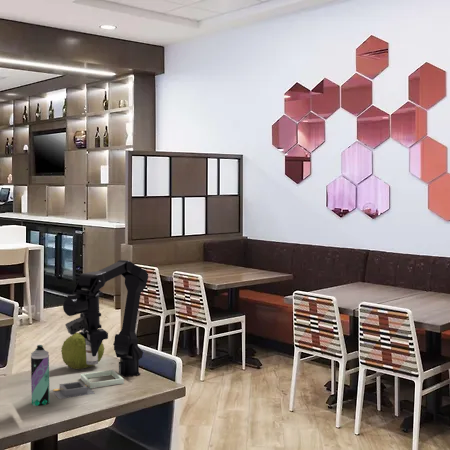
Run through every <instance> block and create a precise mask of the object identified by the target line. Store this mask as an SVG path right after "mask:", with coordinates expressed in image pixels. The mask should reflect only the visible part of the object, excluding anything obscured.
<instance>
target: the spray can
mask: <svg viewBox="0 0 450 450" xmlns="http://www.w3.org/2000/svg"><path fill="white" fill-rule="evenodd" d="M30 374H31V375H30V376H31V378H30V379H31V380H30V382H31V384H30V385H31V405H32V406H34V407H43V406H46V405H49V404H50V401H51V400H50V398H51V397H50V396H51V395H50V355H49V351H48V350H45V348H44V346H43V345H42V344H37V345H36V348H35V349H34V351H32V352H31V354H30Z"/></svg>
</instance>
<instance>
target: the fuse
mask: <svg viewBox="0 0 450 450" xmlns="http://www.w3.org/2000/svg"><path fill="white" fill-rule="evenodd" d="M86 364H88V365H93V366H95V365H97V364H99V362H98V352H97V354H96V356H92V352H91V347H90V342H89V341H88V340H86Z"/></svg>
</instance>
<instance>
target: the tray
mask: <svg viewBox="0 0 450 450" xmlns="http://www.w3.org/2000/svg"><path fill="white" fill-rule="evenodd" d="M107 376H112V377H113V379H108V380H99V381H94V382H93V381H91V380H90V379H93V378H94V379H95V378H101V377H107ZM114 378H115V379H114ZM80 379H81V382H82V383H83V384H84V385H87V386H88V387H89V388H90V389H94V388H95V389H96V388H101V387H107V386H115V385H123V384H125V377H123V376H122V375H121V374H120V373H119V372H117V371H115V370H114V369H109V370H108V369H107V370H101V371H95V372H93V371H92V372H87V373H80Z"/></svg>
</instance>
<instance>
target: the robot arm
mask: <svg viewBox="0 0 450 450" xmlns="http://www.w3.org/2000/svg"><path fill="white" fill-rule="evenodd" d="M119 276H122V277H123V278H124V285H125V286H124V287H125V288H126V292H127V293H126V300H125V306H124V313H123V320H122V324H121V325H122V327H121V330H120V331H119V333H118V334H117V333H116V334H115V335H114V341H113V344H112V345H113V350H114V351H115V355H116V358H119V361H118V374H119V375H120V376H121V377H122V378H127V377H133V376H139V375H140V376H141V372H140V360H141V359H142V358H143V355H144V351H143V350H142V349H141V347H139V338H138V336H137V334H136V328H137V321H138V314H139V308H140V307H139V306H140V301H141V295H142V292H143V291H144V289H146V287H147V283H148V280H149V273H148V271H147V270H146V269H144V268H142V267H140V266H138V265H136V264H135V263H133V262H132V261H130V260H128V259H127V260H126V259H119V260H117V261H116V262H114V263H112V264H110V265H108V266H105V267H104V268H102V269H99V270H97V271H87V272H83V273H81V274H80V275H79V278H78V280H77V282H76V284H75V287H74V289H73V291H72V294H69V295H67V296H66V297H67V299H65V300H64V302H63V304H62V309H63V312H64V313H65V315H66V316H69V317H73V316H76V315H79V317H77V318H75V319H72V320H71V321H68V322H67V323H65V328H66V330H67V332H68V334H69V335H70V336H72V335H74V334H75V333H79V334H81V335H82V336H83V337H84V339H85V342H86V340H88V341H89V342H90V347H91V352H92V356H96V354H97V352H98V350H99V347H100V345H101V343H103V342H104V341H103V340H108V339H109V333H108V331H106V329H103V328H102V324H101V320H100V318H101V317H102V313H101V312H100V296H103V295H104V292H102V291H101V289H103V287H104V286H105V284H106V283H107V282H108V281H111V280H113V279H115V278H117V277H119Z"/></svg>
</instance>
